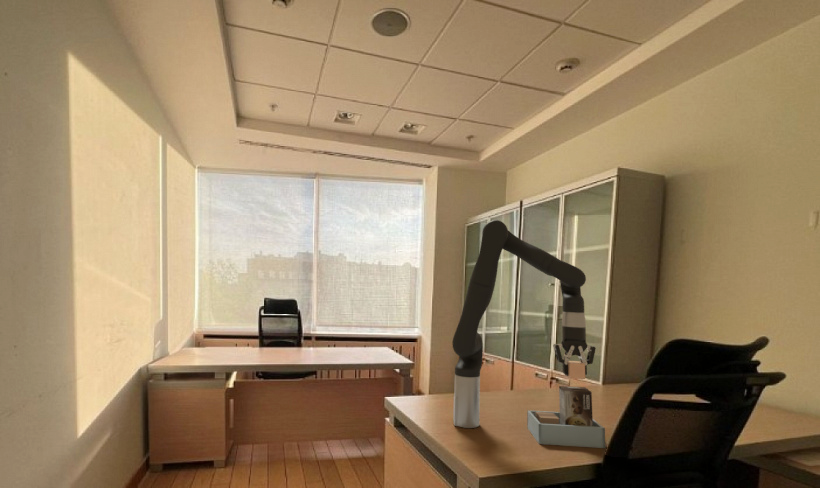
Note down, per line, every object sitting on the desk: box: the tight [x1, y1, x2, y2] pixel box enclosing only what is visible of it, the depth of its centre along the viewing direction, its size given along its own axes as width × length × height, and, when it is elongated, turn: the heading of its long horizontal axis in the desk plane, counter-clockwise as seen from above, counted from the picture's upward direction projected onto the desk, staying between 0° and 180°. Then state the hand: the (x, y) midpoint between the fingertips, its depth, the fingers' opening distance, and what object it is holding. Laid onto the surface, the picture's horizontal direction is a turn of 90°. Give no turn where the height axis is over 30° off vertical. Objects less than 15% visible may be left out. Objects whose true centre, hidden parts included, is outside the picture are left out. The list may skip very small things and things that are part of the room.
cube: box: [564, 360, 586, 380], centre depth 129 cm, size 5×5×5 cm
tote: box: [526, 410, 606, 449], centre depth 126 cm, size 21×15×6 cm
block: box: [536, 412, 559, 425], centre depth 127 cm, size 6×6×6 cm
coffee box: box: [558, 385, 594, 427], centre depth 127 cm, size 9×6×16 cm
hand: (574, 375), depth 128 cm, fingers closed on cube, 5 cm apart
